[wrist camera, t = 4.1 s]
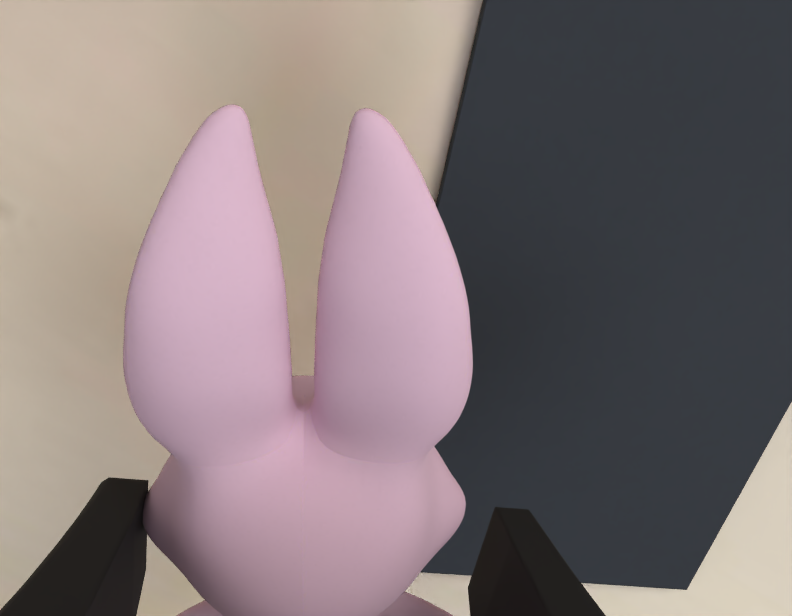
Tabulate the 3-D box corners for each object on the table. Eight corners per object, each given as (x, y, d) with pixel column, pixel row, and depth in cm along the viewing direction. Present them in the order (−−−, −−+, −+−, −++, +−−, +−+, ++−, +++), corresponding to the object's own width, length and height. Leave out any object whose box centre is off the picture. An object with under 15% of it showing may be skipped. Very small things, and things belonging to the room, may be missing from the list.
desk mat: (683, 583, 27) (686, 590, 27) (352, 561, 25) (353, 568, 25) (1007, -5, 17) (1017, -3, 17) (510, -117, 15) (513, -117, 15)
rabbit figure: (437, 642, 19) (556, 55, 9) (472, 948, 14) (775, 411, 5) (181, 652, 18) (32, 36, 9) (135, 976, 14) (-283, 424, 4)
